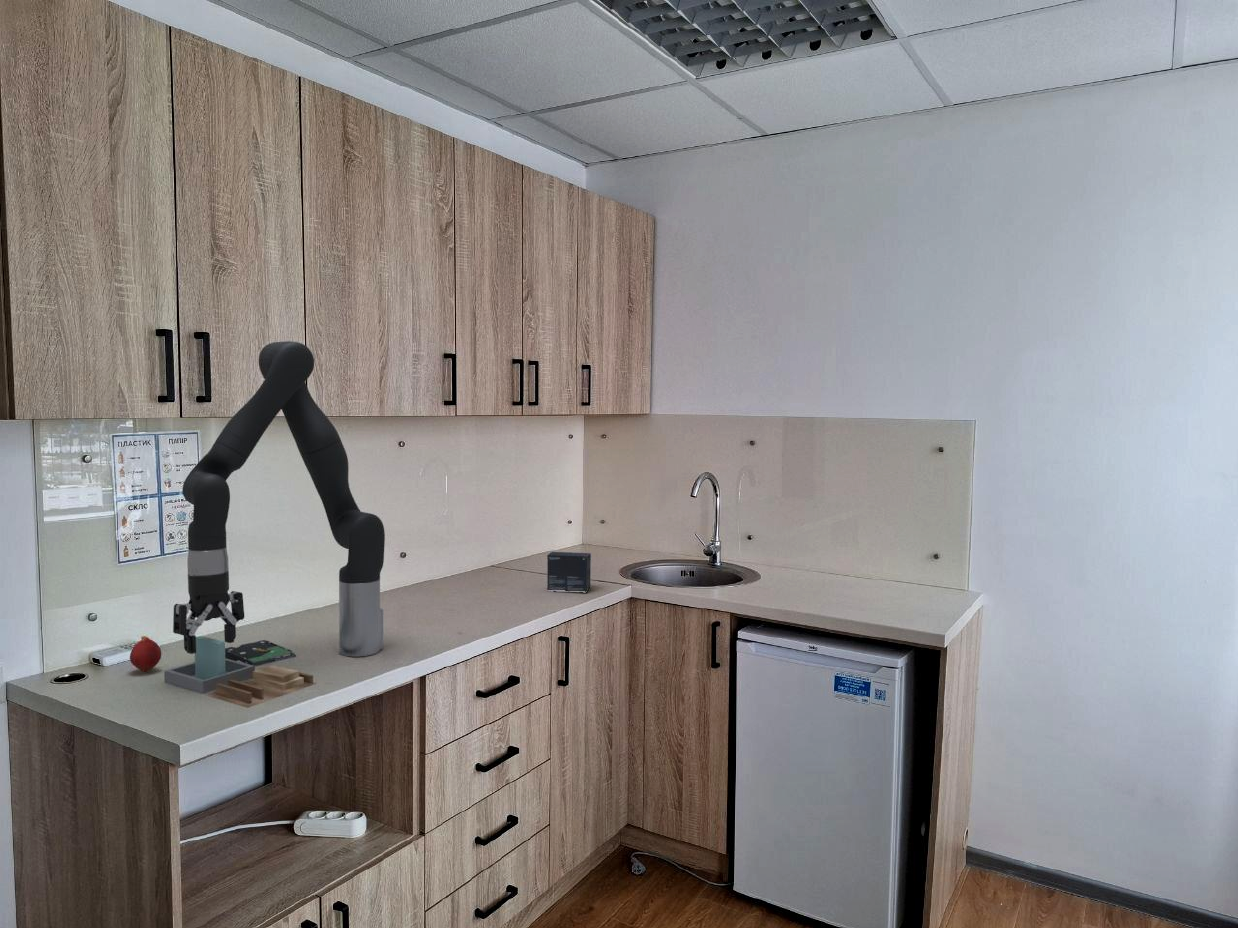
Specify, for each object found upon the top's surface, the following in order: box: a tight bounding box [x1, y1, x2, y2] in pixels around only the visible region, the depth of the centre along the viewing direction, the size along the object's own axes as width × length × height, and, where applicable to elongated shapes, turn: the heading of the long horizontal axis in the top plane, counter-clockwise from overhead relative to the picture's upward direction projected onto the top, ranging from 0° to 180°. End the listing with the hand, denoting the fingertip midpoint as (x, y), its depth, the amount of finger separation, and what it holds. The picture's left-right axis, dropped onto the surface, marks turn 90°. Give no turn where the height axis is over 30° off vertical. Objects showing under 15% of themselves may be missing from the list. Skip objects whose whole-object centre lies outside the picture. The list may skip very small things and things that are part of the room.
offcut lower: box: [253, 677, 304, 691], centre depth 168 cm, size 5×9×1 cm, turn 61°
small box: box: [546, 551, 592, 592], centre depth 263 cm, size 13×7×12 cm, turn 81°
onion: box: [129, 635, 162, 673], centre depth 177 cm, size 6×6×8 cm
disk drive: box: [225, 639, 297, 667], centre depth 187 cm, size 10×3×15 cm
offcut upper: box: [253, 665, 300, 683], centre depth 168 cm, size 4×8×1 cm, turn 67°
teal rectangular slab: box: [194, 635, 226, 680], centre depth 169 cm, size 1×8×9 cm, turn 60°
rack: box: [204, 665, 317, 709], centre depth 165 cm, size 16×13×3 cm
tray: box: [163, 658, 256, 695], centre depth 170 cm, size 12×13×4 cm
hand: (210, 647), depth 169 cm, fingers open, 8 cm apart
